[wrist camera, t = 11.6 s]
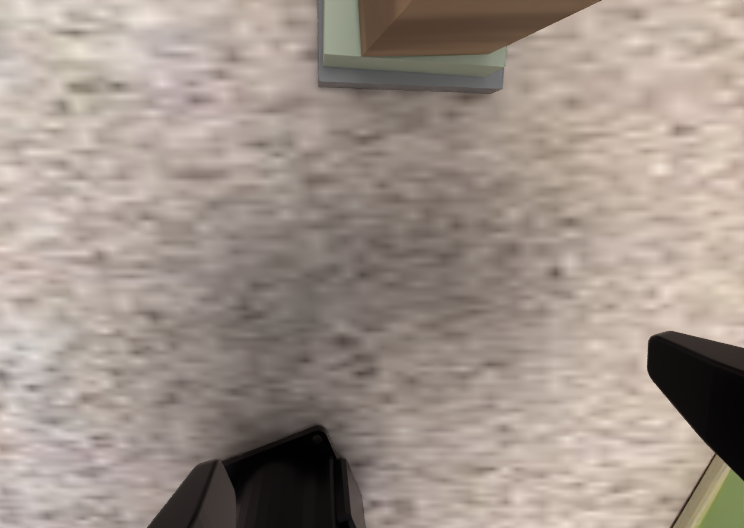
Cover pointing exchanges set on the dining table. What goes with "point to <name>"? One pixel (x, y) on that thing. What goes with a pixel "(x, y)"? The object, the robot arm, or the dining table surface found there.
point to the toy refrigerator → (715, 500)
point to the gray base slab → (399, 76)
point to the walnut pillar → (454, 24)
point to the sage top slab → (346, 53)
